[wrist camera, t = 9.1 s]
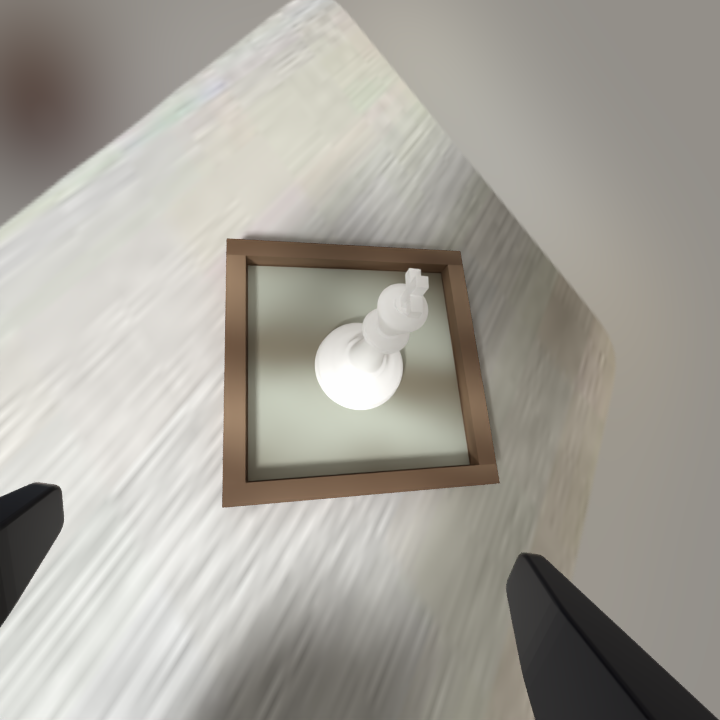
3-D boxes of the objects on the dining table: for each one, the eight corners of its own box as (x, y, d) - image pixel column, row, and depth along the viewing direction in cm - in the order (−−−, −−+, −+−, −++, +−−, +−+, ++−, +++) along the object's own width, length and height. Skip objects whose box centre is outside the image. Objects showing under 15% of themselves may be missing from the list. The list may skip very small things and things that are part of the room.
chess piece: (399, 329, 24) (483, 228, 15) (402, 412, 23) (496, 356, 14) (316, 322, 23) (350, 209, 14) (313, 408, 22) (349, 345, 13)
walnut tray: (484, 483, 23) (499, 483, 22) (225, 506, 20) (222, 507, 19) (449, 264, 27) (460, 251, 26) (229, 254, 24) (226, 238, 23)
